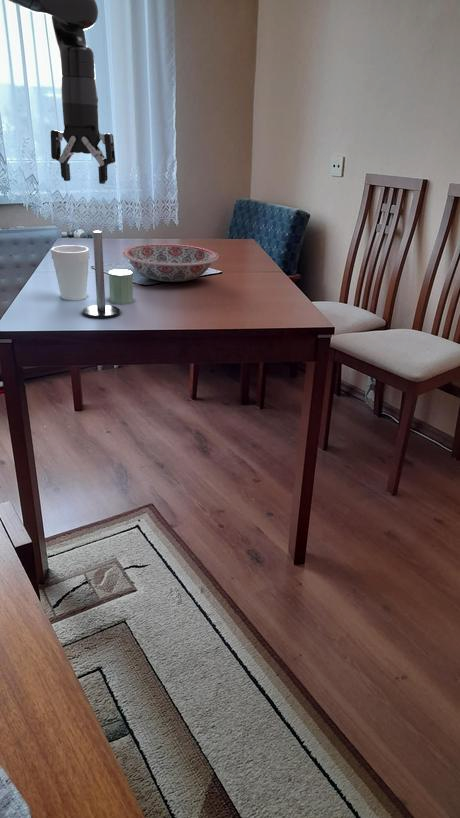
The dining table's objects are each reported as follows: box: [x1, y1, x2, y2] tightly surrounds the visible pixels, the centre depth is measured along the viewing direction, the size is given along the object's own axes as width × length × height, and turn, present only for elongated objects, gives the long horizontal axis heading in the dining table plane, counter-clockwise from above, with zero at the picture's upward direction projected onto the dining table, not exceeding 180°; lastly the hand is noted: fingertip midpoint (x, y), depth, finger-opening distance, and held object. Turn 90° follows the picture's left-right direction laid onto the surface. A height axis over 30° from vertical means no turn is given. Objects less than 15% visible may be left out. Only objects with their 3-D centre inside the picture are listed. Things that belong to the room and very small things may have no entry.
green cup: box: [108, 268, 134, 305], centre depth 146 cm, size 6×6×8 cm
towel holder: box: [82, 230, 121, 320], centre depth 133 cm, size 9×9×20 cm
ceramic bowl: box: [121, 243, 219, 283], centre depth 170 cm, size 29×29×8 cm
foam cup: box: [50, 244, 91, 301], centre depth 146 cm, size 10×9×13 cm
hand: (84, 182), depth 128 cm, fingers open, 8 cm apart
